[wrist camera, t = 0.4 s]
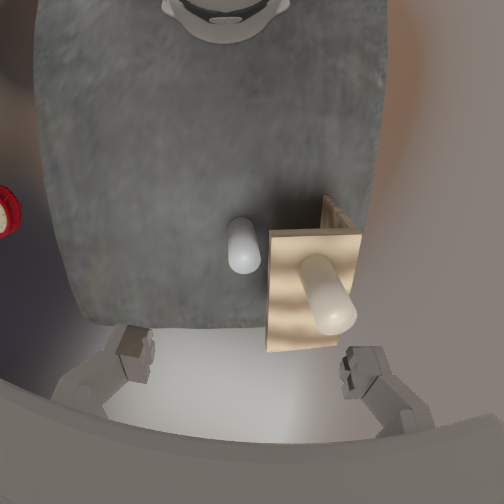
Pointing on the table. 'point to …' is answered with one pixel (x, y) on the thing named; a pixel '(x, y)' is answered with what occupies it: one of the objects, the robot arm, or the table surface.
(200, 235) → the table surface
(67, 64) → the table surface
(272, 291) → the counter
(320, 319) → the white rounded cylinder
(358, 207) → the table surface
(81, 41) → the table surface
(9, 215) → the alarm clock
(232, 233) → the white cylinder pillar
